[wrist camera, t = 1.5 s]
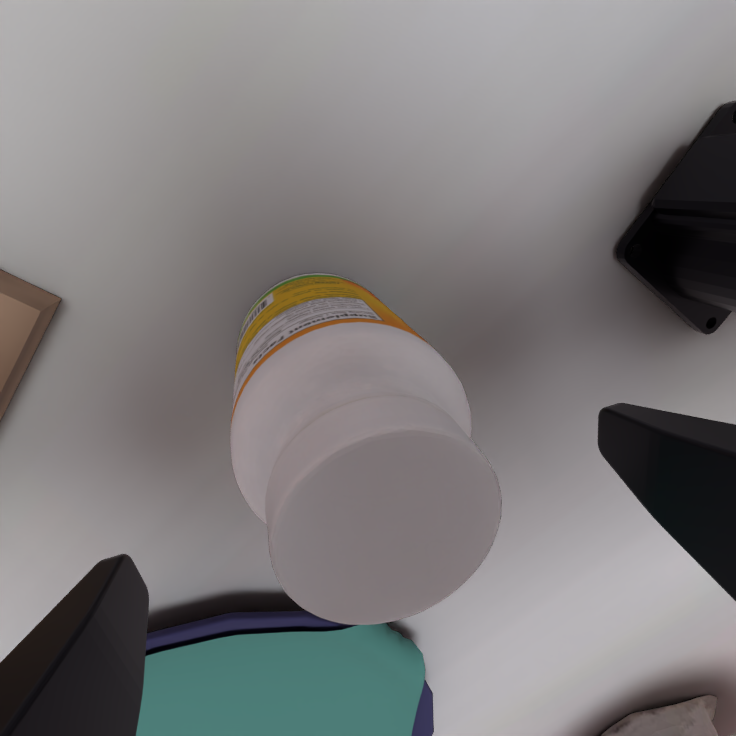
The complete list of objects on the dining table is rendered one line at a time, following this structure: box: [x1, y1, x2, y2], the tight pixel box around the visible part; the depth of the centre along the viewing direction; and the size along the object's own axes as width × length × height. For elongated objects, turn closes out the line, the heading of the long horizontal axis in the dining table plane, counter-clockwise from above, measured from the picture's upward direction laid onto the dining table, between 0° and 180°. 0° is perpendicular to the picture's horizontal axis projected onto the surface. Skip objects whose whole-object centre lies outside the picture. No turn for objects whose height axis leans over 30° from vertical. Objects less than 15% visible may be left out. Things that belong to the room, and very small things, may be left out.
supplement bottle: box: [230, 273, 502, 625], centre depth 12 cm, size 5×5×10 cm
